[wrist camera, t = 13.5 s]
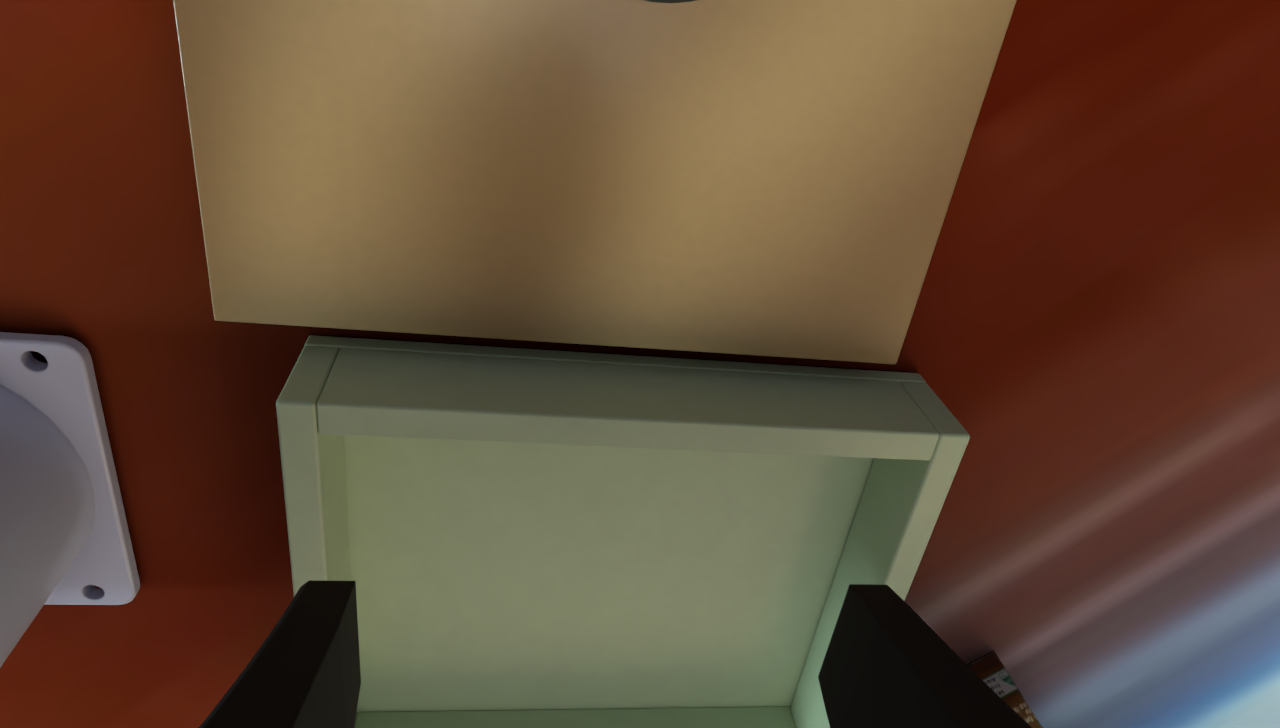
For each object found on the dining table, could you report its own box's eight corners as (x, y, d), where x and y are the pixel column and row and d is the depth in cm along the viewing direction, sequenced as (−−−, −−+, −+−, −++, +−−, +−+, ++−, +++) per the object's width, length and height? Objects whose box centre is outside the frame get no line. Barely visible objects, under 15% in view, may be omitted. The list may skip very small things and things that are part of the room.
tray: (334, 715, 26) (312, 806, 23) (308, 333, 19) (274, 401, 16) (802, 708, 28) (830, 789, 26) (919, 372, 22) (972, 435, 19)
